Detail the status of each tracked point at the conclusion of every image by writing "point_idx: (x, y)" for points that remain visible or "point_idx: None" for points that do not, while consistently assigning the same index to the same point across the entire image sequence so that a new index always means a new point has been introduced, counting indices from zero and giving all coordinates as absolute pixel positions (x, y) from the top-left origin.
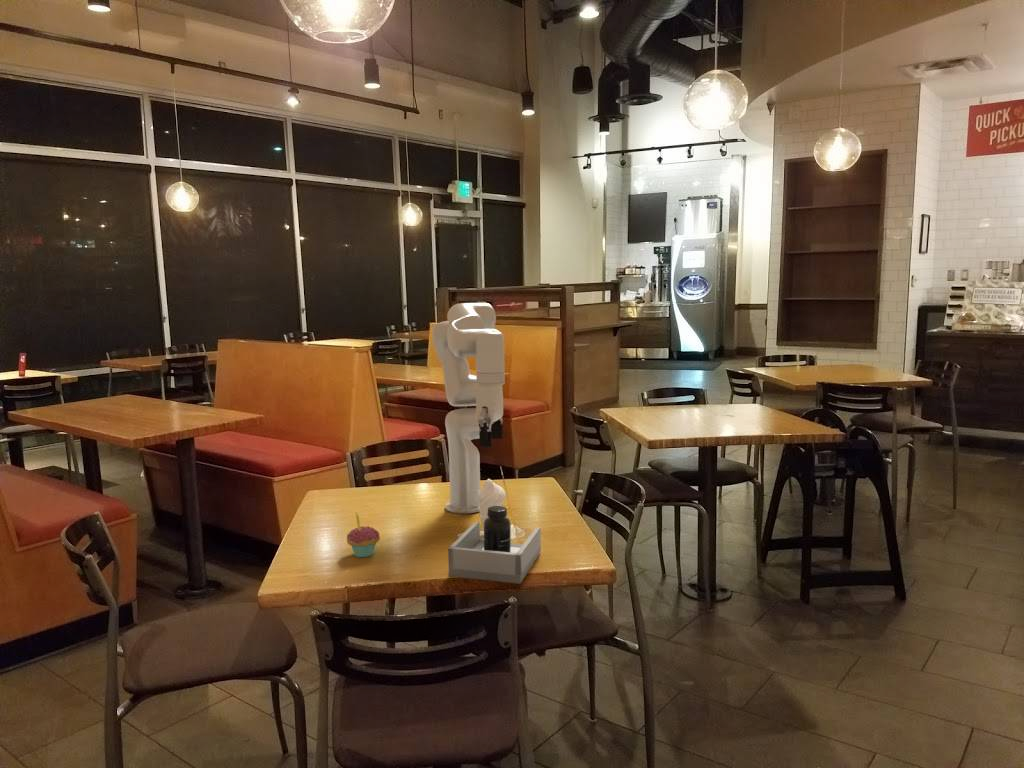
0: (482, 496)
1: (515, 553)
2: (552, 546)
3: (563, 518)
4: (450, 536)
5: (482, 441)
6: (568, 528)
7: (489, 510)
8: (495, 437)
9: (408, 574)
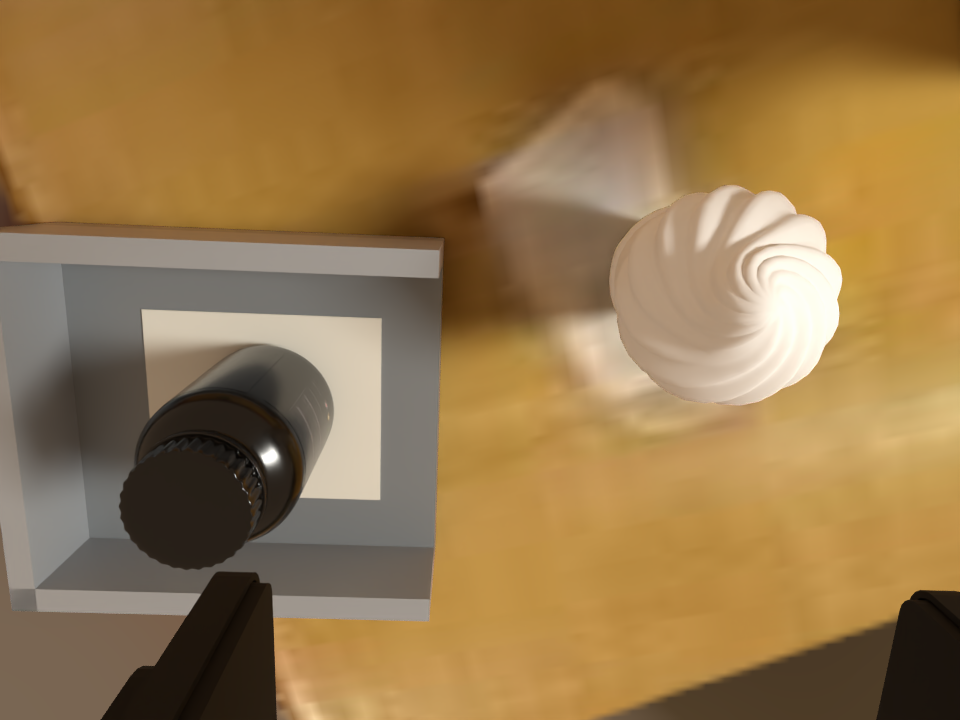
0: (644, 260)
1: (28, 585)
2: (525, 580)
3: (914, 562)
4: (569, 48)
5: (125, 701)
6: (770, 606)
7: (129, 472)
8: (897, 675)
9: (2, 8)
